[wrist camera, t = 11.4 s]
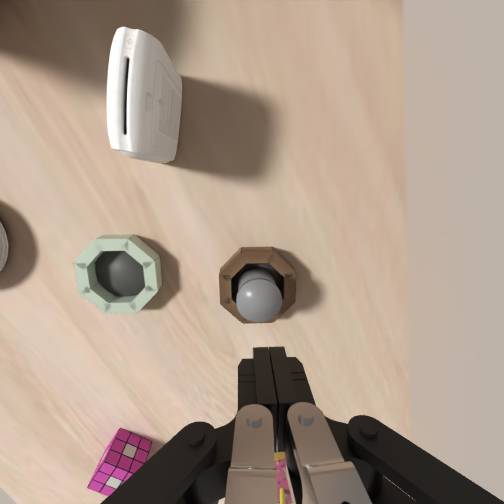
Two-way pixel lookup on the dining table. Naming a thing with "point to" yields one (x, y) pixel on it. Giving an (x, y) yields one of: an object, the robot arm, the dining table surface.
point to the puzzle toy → (119, 462)
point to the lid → (3, 247)
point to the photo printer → (142, 98)
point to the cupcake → (282, 479)
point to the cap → (258, 295)
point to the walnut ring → (251, 258)
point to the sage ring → (118, 273)
